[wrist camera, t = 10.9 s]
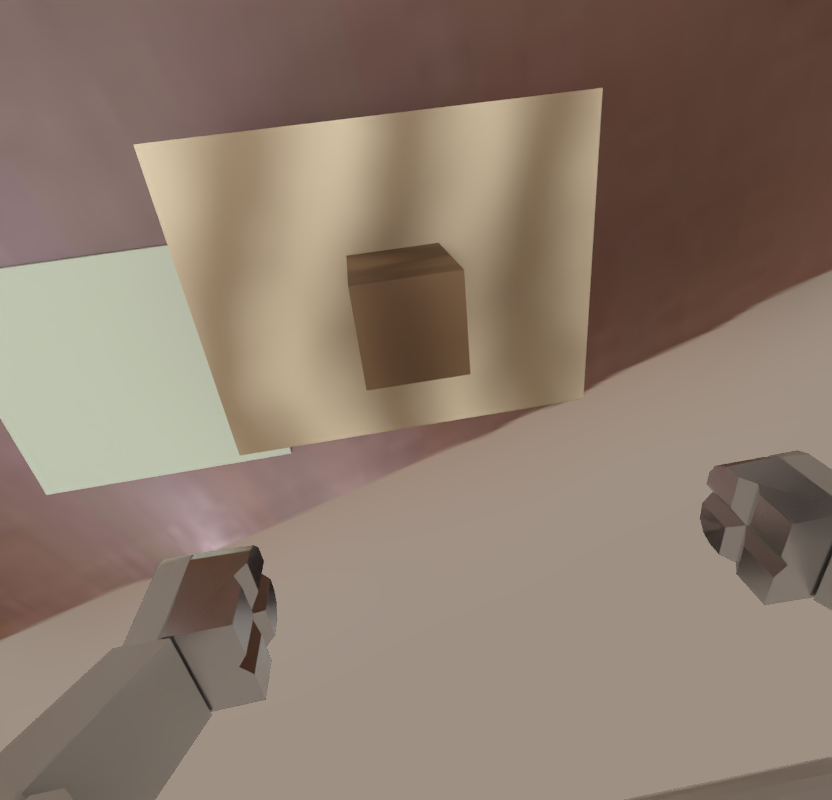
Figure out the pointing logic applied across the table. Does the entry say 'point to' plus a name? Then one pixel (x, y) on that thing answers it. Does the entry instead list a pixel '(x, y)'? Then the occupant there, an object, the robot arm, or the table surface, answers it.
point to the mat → (107, 372)
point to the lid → (386, 264)
